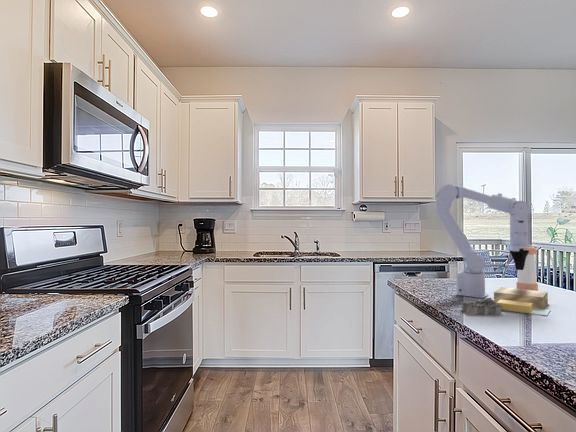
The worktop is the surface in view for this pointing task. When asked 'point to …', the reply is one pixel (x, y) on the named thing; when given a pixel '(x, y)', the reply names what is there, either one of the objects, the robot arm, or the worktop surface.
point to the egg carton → (482, 306)
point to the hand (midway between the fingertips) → (519, 269)
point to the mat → (536, 311)
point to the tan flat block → (522, 296)
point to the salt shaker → (528, 272)
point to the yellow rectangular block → (516, 306)
